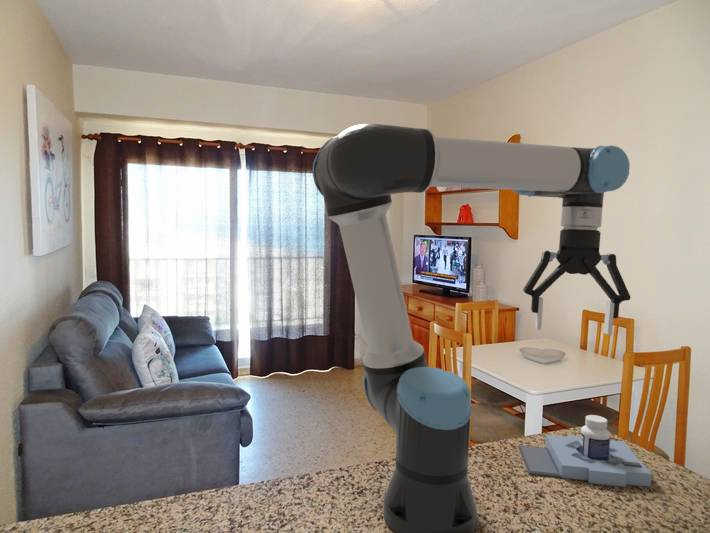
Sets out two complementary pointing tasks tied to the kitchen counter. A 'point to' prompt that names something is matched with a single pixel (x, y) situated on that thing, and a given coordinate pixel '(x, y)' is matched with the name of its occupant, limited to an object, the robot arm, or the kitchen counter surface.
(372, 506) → the kitchen counter surface
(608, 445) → the pill bottle
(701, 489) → the kitchen counter surface
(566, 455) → the dock
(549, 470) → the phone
